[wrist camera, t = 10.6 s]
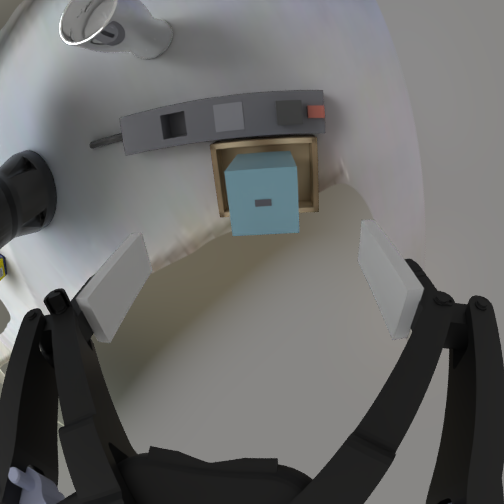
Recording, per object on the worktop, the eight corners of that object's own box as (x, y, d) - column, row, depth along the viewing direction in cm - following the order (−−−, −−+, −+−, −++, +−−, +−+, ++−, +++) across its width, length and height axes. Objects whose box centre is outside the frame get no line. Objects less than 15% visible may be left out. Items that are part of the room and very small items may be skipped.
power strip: (95, 161, 34) (72, 171, 29) (89, 129, 32) (65, 135, 27) (320, 130, 31) (329, 135, 26) (317, 92, 29) (326, 88, 23)
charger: (244, 196, 35) (232, 236, 25) (239, 151, 33) (224, 171, 22) (291, 193, 35) (299, 233, 25) (288, 147, 32) (297, 166, 22)
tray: (224, 207, 37) (219, 217, 34) (215, 141, 33) (209, 145, 30) (314, 202, 36) (318, 211, 33) (312, 134, 31) (316, 137, 28)
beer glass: (120, 56, 27) (47, 45, 14) (141, 13, 23) (77, -19, 10) (162, 67, 28) (97, 51, 15) (185, 22, 25) (133, -19, 12)
